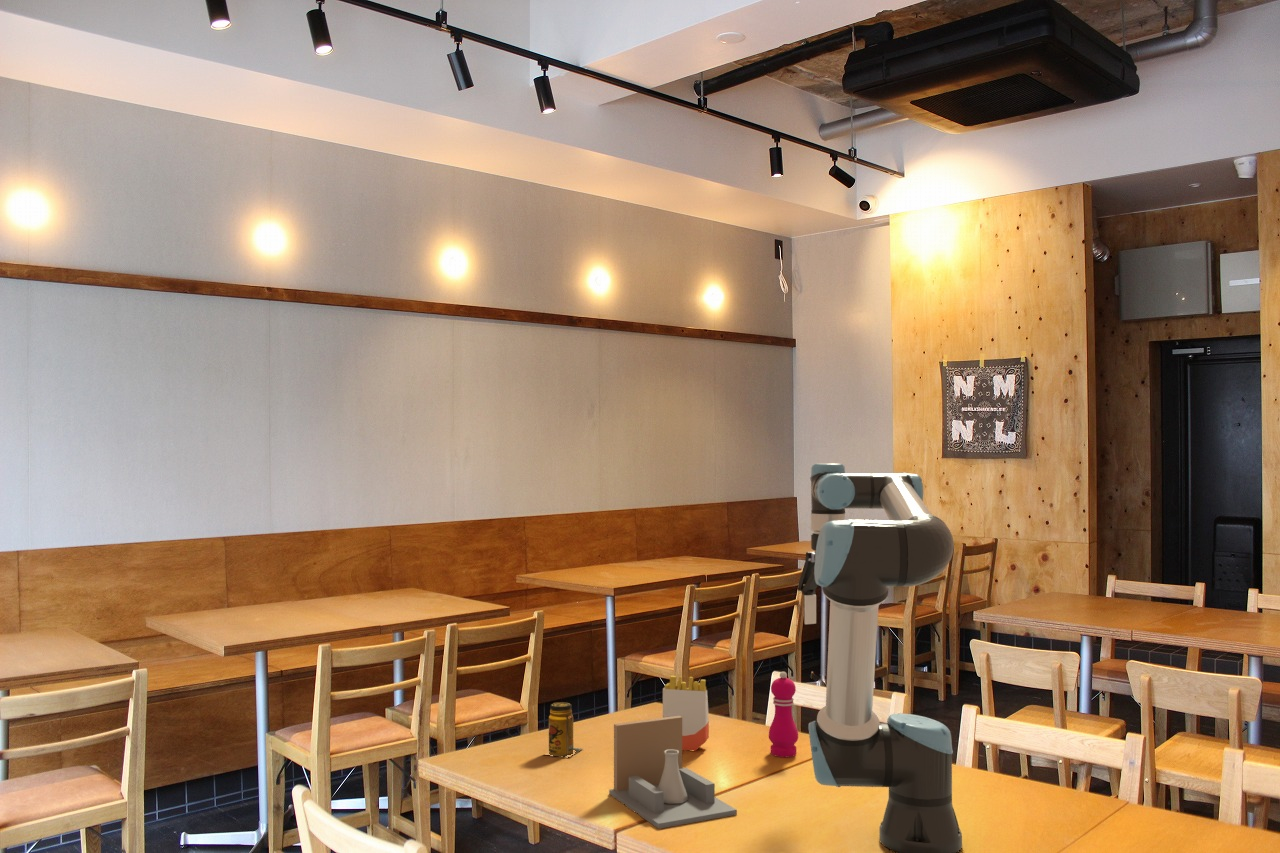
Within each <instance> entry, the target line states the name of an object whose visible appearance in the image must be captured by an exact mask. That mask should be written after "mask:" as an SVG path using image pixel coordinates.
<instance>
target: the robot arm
mask: <svg viewBox="0 0 1280 853" xmlns="http://www.w3.org/2000/svg"><path fill="white" fill-rule="evenodd" d="M810 469H811V470H810V474H811V475H810V496H811V499H810V500H811V503H810V504H811V510H810V511H811V513H810V515H811V516H810V530H811V531H812V533H811V534H810V544H811V545H810V547H811V550H813V551H807V552H805V560H804V564H803V567H802V571H801V575H800V578H799V580H798V585H797V590H798V591H799V592H801V594H802V595H803V608H804V625H814V624H817V595H816V593H817V592H816V589H817V587H818V586H820V587H821V588H822V590H821V591H822V593H823V595H824V597H826V599H827V600H829V601H830V602H829V605H830V606H829V622H828V624H829V626H828V630H829V631H828V644H827V648H828V649H827V650H828V651H827V666H826V667H827V669H826V672H827V673H826V691H825V692H826V693H825V706H824V707H822V708H821V709H820V710H819V711H818V713H817V715H816V720H813V721H810V722H809V723H808V725H807V726H808V734H809V744H810V751H811V760H812V765H813V773H814V774H813V775H814V778H815V780H816V782H817V783H819V785H822V786H830V787H831V786H832V787H837V788H841V787H857V788H858V787H861V788H863V787H866V788H869V787H870V788H888V801H887V803H886V807H885V810H884V814H883V818H882V821H881V823H880V824H879V834H878V835H879V837H878V838H879V842H880V843H881V844H882V846H884V847H885V848H887V849H889V850H891V851H894V852H896V853H956V852H958V851H959V850H960V849H961V848H963V834H962V831H961V829H960V827H959V822H958V818H957V815H956V812H955V809H954V806H953V754H954V751H953V745H952V744H953V743H952V732H951V731H950V729H949V728H948V726H946V725H945V724H944V723H942V722H941V721H938V720H935V719H933V718H929V717H926V716H924V715H923V716H922V715H918V714H910V713H901V712H900V713H892V714H889V716H888V718H887V719H886V720H887V722H885V723H884V722H880V718H879V716H878V715H877V714H876V712H874V711H873V705H874V704H873V703H874V702H873V701H874V687H875V670H876V655H877V637H878V622H879V621H878V620H879V607H880V605H881V604H883V603H885V601H886V600H887V599H888V597H889V590H890V589H889V588H890V587H892V588H894V587H897V588H898V587H900V588H901V587H902V588H903V587H916V586H920V585H922V584H923V585H924V584H926V583H927V582H930V581H932V580H933V579H935V578H936V577H938V576H939V575H940V574H941V573H942V572H943V571H944V570H945V569H946V568H947V567H948V565H949V563H950V561H951V560H952V557H953V554H954V547H955V543H954V542H955V541H954V537H953V534H952V532H951V530H950V528H949V526H947V524H946V523H945V522H944V520H942V519H941V518H940V517H938V516H936V515H933V513H932V512H931V511H930V510H929V508H928V507H927V506H926V504H925V503H924V484H923V480H922V477H921V475H919V474H918V473H910V472H909V473H907V472H898V473H897V472H892V473H891V472H890V473H887V472H885V473H880V472H878V473H873V472H872V473H868V472H867V473H864V472H863V473H862V472H861V473H859V472H855V473H852V472H850V473H848V472H847V473H846V467H845V465H844V464H843V463H813V464H812V466H811V468H810ZM846 509H872V510H874V509H877V510H878V509H879V510H880V509H883V510H884V513H885V514H886V516H887V518H888V519H887V520H885V519H884V520H881V519H874V520H872V519H870V520H869V519H865V520H864V519H851V518H847V519H846ZM961 850H962V849H961ZM961 850H960V851H961ZM960 851H959V852H960ZM959 852H958V853H959Z"/></svg>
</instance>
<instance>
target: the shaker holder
mask: <svg viewBox="0 0 1280 853" xmlns="http://www.w3.org/2000/svg"><path fill="white" fill-rule="evenodd" d="M672 749H673V750H678V751H679V755H678V766H679V771H680V775H681V778H682V781H683V784H684V787H685V790H686V793H687V796H688V800H687V801H685V802H683V803H676V804H667V803H664V792H663V791H661V790H660V789H658V786H659V783H660V780H661V777H662V774H663V771H664V766H665V754H664V751H665V750H672ZM715 787H716V786H715V782H713V781H711V780H709V779H707V778H705V776H702V775H700V774H698V773H696V772H695V771H693V770H691V769H689V768H688V767H683V750H682V717H681V716H673V717H665V718H663V717H658V718H657V717H656V718H652V719H651V718H650V719H644V720H635V721H627V722H620V723H618V722H617V723H613V788H611V789H609V790H608V792H609V794H608V795H609V796H611V795H612V796H613V797H612V796H611V797H612V798H614V799H615V798H616V799H615V800H617V801H618V800H619V801H618V802H620V803H621V802H622V803H623V804H622V803H621V804H622V805H624V804H625V805H626V806H625V805H624V806H625V807H627V808H628V809H630V810H631V811H632V810H633V812H634V811H635V812H636V813H635V812H634V813H635V814H637V813H638V814H639V815H638V814H637V815H638V816H639V817H641V818H642V817H643V818H642V819H643V820H645V821H646V822H648V823H649V824H651V825H652V826H654V827H655V828H657V829H658V830H660V829H661V830H662V829H665V828H671V827H677V826H682V825H688V824H692V823H698V822H705V821H708V820H715V819H720V818H726V817H731V816H738V815H737V814H738V810H737V809H736V808H735V807H733V806H731V805H729V804H728V803H726V802H724V801H722V800H721V799H719V798H718V797H716V796H715V792H716V791H715V789H716V788H715Z"/></svg>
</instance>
